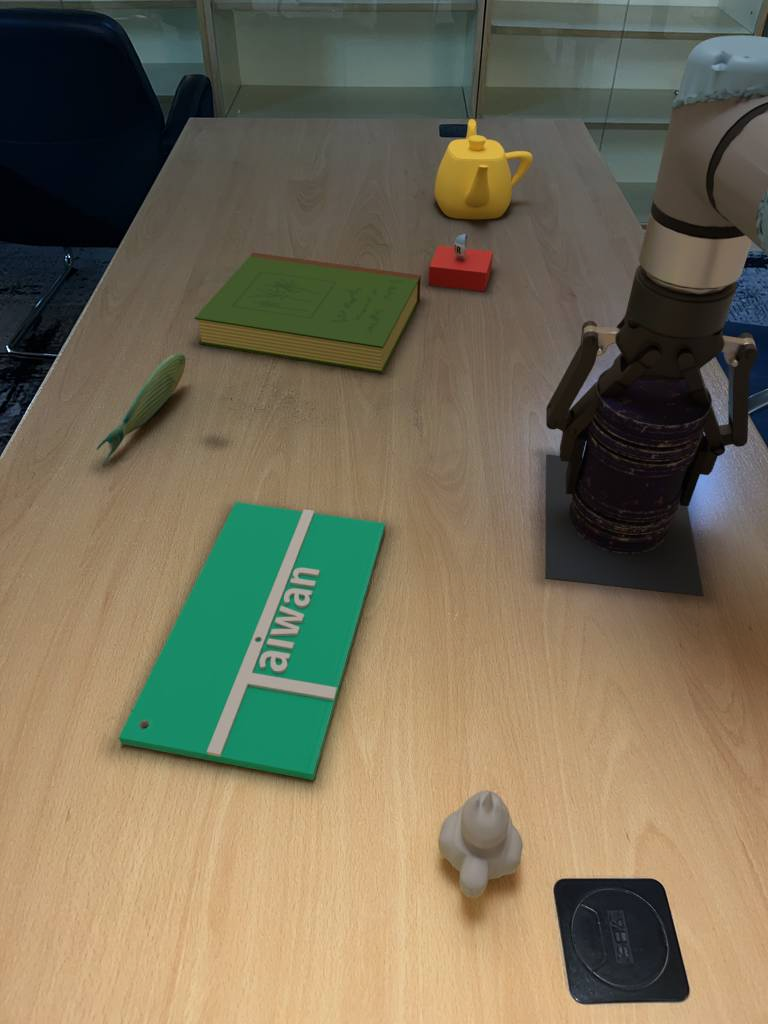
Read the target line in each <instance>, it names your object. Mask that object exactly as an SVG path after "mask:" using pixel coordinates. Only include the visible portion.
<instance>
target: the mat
mask: <svg viewBox="0 0 768 1024" xmlns="http://www.w3.org/2000/svg"><path fill="white" fill-rule="evenodd" d="M567 466H568V462H566V461H561V459H560V455H554V454H545V569H544V571H545V577H544V578H545V579H547V580H555V581H556V580H557V581H563V582H564V581H566V582H573V583H583V584H591V585H601V586H609V587H618V588H628V589H635V590H643V591H654V592H663V593H669V594H679V595H689V596H697V597H704V596H705V593H704V588H703V583H702V578H701V572H700V567H699V566H700V565H699V562H698V556H697V549H696V545H695V539H694V534H693V528H692V523H691V519H690V512H689V506H681V505H680V501H679V505H678V508H677V511H676V514H675V517H674V518H673V520H672V522H671V524H670V526H669V530H668V533H667V536H666V538H665V539H664V541H663V542H662V543H661V544H660V545H659V546H657V547H655V548H654V549H651V550H649V551H646V552H642V553H635V554H622V553H615V552H611V551H607V550H604V549H601V548H599V547H597V546H594V545H592V544H591V543H589V542H587V541H586V540H585V539H583V538H582V537H581V536H580V535H579V534H578V533H577V532H576V531H575V529H574V528H573V526H572V524H571V522H570V519H569V506H570V502H571V497H572V494H566V471H567Z"/></svg>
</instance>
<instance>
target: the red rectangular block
mask: <svg viewBox="0 0 768 1024" xmlns="http://www.w3.org/2000/svg"><path fill="white" fill-rule="evenodd" d="M493 256H494V251H491V250H485V249H484V250H483V249H482V250H481V249H474V248H468V234H467V233H461V234H459V235H458V236H457V237H456V238H455V241H454V246H446V245H438V246H437V248H436V250H435V252H434V255H433V257H432V259H431V261H430V264H429V266H428V267H429V269H428V286H433V287H441V288H450V289H459V290H468V291H476V292H485V291H486V288H487V285H488V282H489V279H490V275H491V272H492V269H493V258H494V257H493Z"/></svg>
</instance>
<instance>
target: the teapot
mask: <svg viewBox="0 0 768 1024" xmlns="http://www.w3.org/2000/svg"><path fill="white" fill-rule="evenodd" d="M533 158H534V157H533V155H532V153H531V152H530V151H525V150H517V151H516V150H515V151H510V152H506V151H505V149H504V147H503V146H502V145H501V143H500V142H498V141H497V140H494V139H487V138H486V137H485V136H483V135H479V134H478V133H477V121H476V120H475V119H474V118H470V119H469V120H468V121H467V130H466V136H465V138H463V139H462V138H461V139H454V140H452V141H451V142H450V143H449V144H448V146H447V148H446V150H445V152H444V154H443V157H442V159H441V162H440V164H439V167H438V169H437V172H436V177H435V182H434V192H433V193H434V197H435V200H436V203H437V205H438V207H439V208H440V210H441V212H442V213H443V214H444V215H445V216H447V217H448V218H452V219H456V220H457V219H458V220H492V219H498V218H500V217H502V216H503V215H504V214H505V212H506V211H507V209H508V207H509V206H510V203H511V201H512V194H513V188H514V187H515V185H517V183H519V181H521V179H522V178H523V177H524V176H525V174H526V173H528V171H529V169H530V168H531V165H532V163H533V160H534V159H533ZM509 160H520V164H519V166H518V168H517V170H516V172H515V174H514V175H513V177H512V174H511V169H510V164H509Z"/></svg>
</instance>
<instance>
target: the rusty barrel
mask: <svg viewBox="0 0 768 1024" xmlns="http://www.w3.org/2000/svg"><path fill="white" fill-rule="evenodd" d="M609 368H610V367H608V368H606V369H605V370H603V372H601V373H600V375H599V376H598V378H597V380H596V382H597V383H596V382H595V383H596V388H595V391H596V395H597V396H598V401H597V403H598V409H596V410H595V414H594V417H595V419H594V420H592V422H591V423H590V424H589V425H588V426H587V427H586V428H585V432H586V443H585V448H584V452H583V457H582V461H581V465H580V470H579V474H578V479H577V483H576V488H575V492H574V495H573V494H572V497H571V502H570V506H569V519H570V522H571V524H572V526H573V528H574V529H575V531H576V532H577V533H578V534H579V535H580V536H581V537H582V538H583V539H585V540H586V541H587V542H589V543H591V544H592V545H594V546H597V547H599V548H601V549H604V550H607V551H611V552H615V553H622V554H635V553H642V552H646V551H649V550H651V549H654V548H655V547H657V546H659V545H660V544H661V543H662V542H663V541H664V539H665V538H666V536H667V533H668V530H669V526H670V524H671V522H672V520H673V518H674V517H675V514H676V511H677V508H678V505H679V501H680V498H681V493H682V489H683V485H682V482H683V479H684V476H685V473H686V470H687V467H688V465H690V463H691V462H692V460H693V458H694V457H695V455H696V453H697V450H698V445H699V444H700V441H701V438H702V435H703V433H704V430H703V428H704V426H705V423H706V420H707V419H706V418H707V417H708V414H709V411H710V408H711V405H712V406H713V404H712V403H713V399H712V395H711V393H710V390H709V389H708V387H706V389H707V392H708V396H709V400H710V404H711V405H710V406H700V405H694V403H693V400H692V398H691V395H690V393H689V391H688V388H687V385H686V382H685V379H683V380H679V383H672V382H667V381H664V380H661V379H659V380H651V381H649V380H641V379H640V378H639V379H638V380H637V381H636V382H635V383H634V384H633V385H632V386H631V387H629V388H625V389H624V390H623V391H622V392H621V393H620V394H619V395H618V396H617V397H616V398H608V397H600V395H599V393H598V380H599V379H600V378H601V377H602V376H603V375H604V374H605V373H606V372H607V370H608V369H609Z"/></svg>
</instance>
